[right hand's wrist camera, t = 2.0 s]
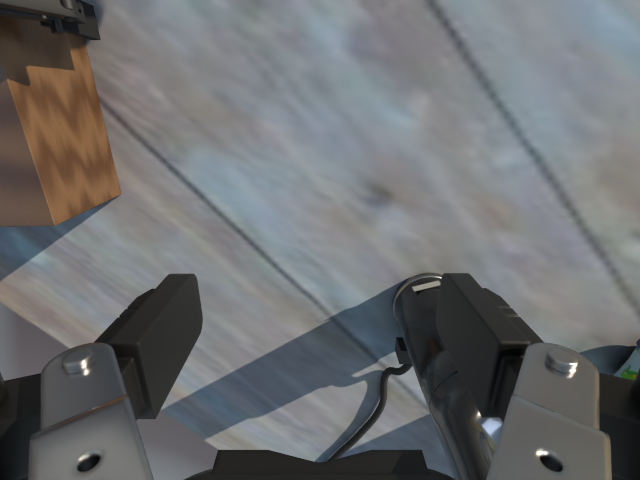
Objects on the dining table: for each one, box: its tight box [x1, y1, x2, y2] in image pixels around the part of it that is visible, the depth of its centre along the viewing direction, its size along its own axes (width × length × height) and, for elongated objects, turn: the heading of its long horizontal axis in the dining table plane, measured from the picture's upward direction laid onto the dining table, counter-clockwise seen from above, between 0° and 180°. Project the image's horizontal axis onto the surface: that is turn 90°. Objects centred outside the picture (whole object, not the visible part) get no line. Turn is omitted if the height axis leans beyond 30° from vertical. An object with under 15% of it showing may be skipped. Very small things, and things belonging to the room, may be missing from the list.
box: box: [0, 16, 121, 227], centre depth 33 cm, size 21×6×12 cm, turn 1°
